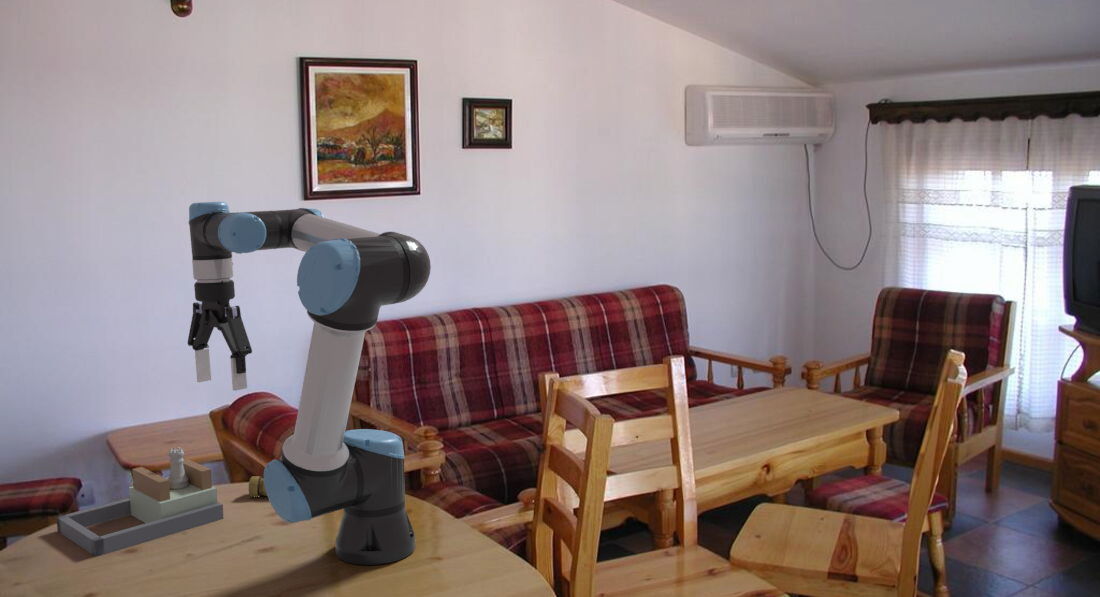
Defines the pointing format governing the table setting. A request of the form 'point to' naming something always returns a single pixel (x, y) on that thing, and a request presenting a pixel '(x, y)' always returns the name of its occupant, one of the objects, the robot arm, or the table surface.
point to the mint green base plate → (170, 493)
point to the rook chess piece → (177, 470)
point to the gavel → (257, 486)
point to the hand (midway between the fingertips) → (221, 385)
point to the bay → (100, 545)
